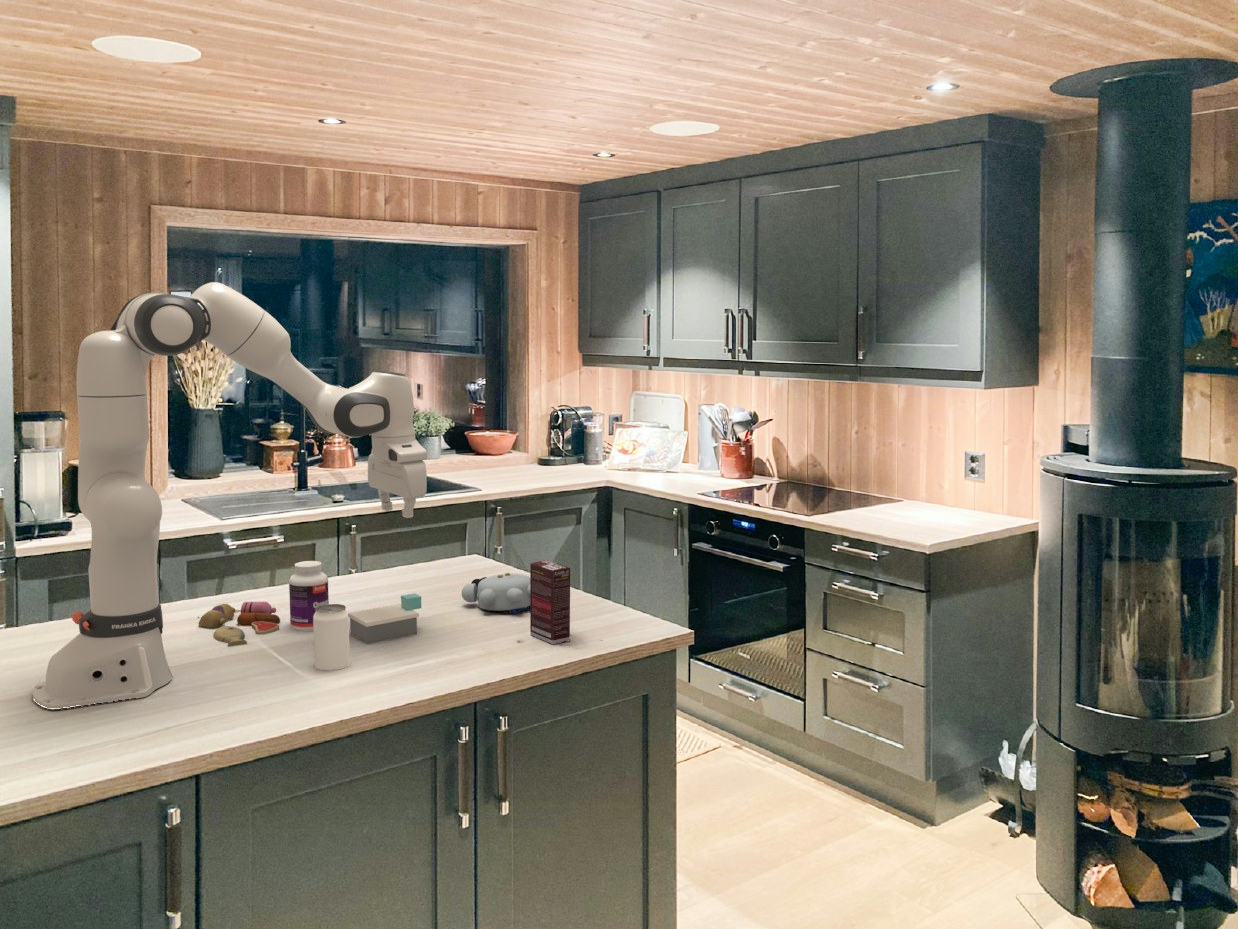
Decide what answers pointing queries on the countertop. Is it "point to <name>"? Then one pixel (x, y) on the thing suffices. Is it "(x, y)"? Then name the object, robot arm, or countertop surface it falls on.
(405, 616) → the lid
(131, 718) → the countertop surface
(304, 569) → the pill bottle
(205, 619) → the toy food set
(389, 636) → the tub
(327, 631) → the can
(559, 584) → the supplement box
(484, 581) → the figurine
